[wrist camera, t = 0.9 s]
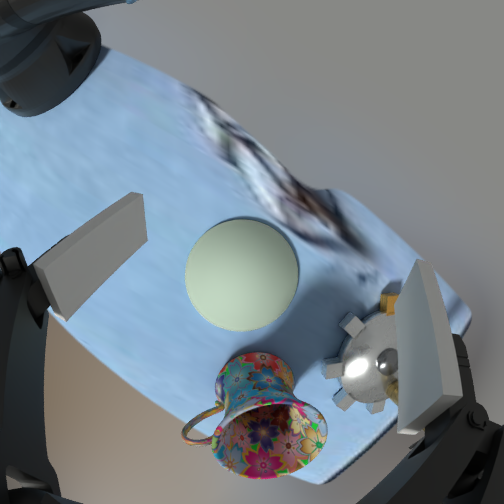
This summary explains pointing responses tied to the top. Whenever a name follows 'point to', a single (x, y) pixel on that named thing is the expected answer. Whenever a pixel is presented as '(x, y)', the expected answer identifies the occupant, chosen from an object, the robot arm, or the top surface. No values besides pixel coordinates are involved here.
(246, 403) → the mug
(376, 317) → the sprocket
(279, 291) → the pale green plate
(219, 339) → the top surface
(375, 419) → the top surface
